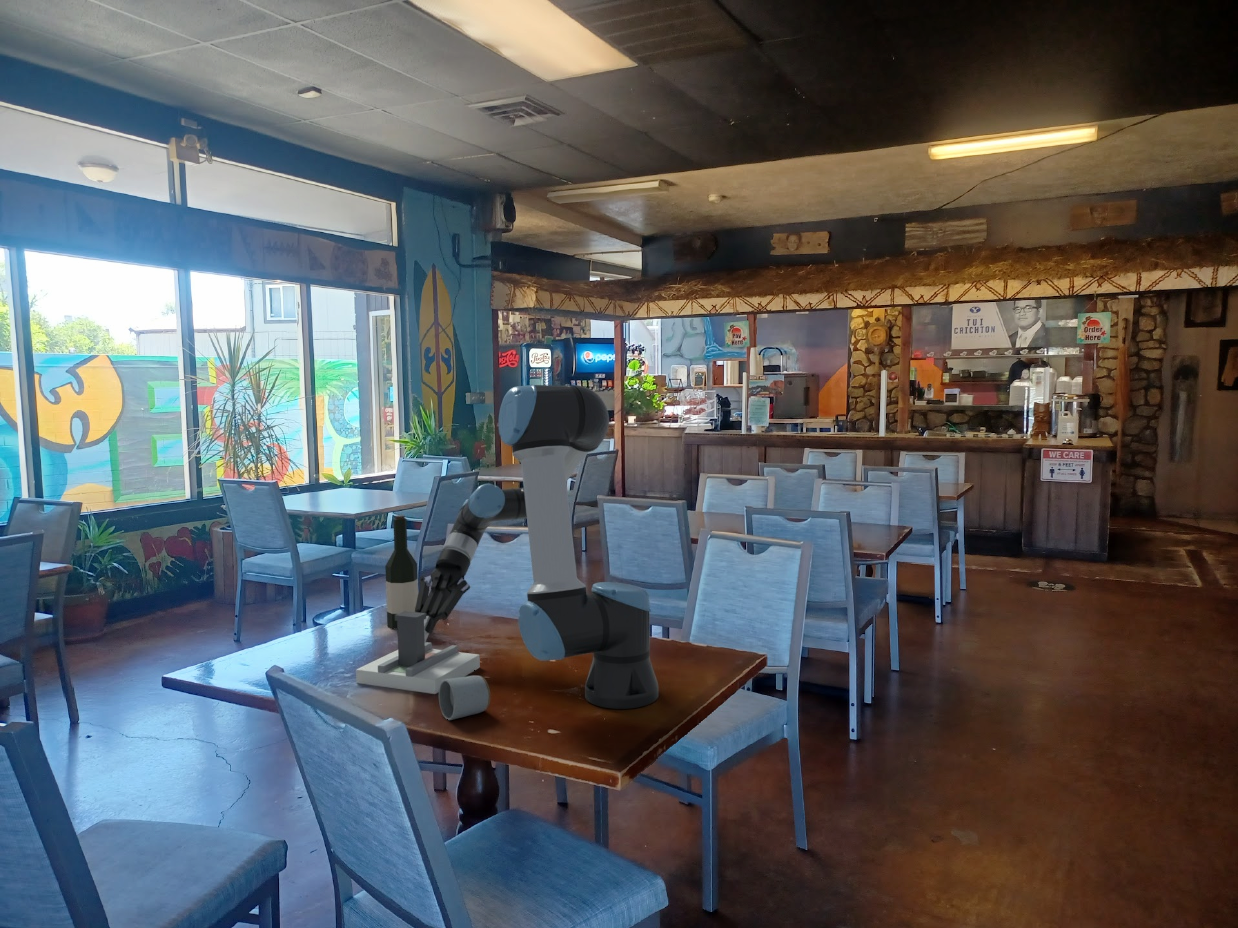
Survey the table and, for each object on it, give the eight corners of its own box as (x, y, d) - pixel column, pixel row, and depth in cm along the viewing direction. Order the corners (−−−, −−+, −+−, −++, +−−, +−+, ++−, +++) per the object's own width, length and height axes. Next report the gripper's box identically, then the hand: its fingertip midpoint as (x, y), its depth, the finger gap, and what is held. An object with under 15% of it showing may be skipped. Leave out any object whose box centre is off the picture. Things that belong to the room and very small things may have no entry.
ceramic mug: (493, 715, 161) (492, 676, 160) (454, 725, 156) (453, 685, 155) (468, 700, 169) (467, 663, 169) (431, 709, 164) (430, 671, 164)
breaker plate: (479, 667, 189) (479, 648, 189) (435, 693, 172) (434, 672, 172) (406, 658, 196) (405, 639, 196) (356, 682, 180) (355, 662, 179)
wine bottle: (386, 622, 228) (383, 514, 225) (417, 619, 230) (414, 512, 228) (387, 630, 220) (384, 518, 217) (420, 627, 222) (416, 517, 220)
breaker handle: (427, 663, 182) (426, 613, 181) (417, 668, 179) (416, 617, 178) (406, 660, 184) (404, 611, 183) (396, 665, 181) (394, 615, 180)
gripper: (486, 566, 198) (449, 655, 184) (439, 563, 203) (400, 649, 189) (473, 548, 193) (435, 638, 179) (426, 545, 198) (385, 633, 184)
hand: (417, 644), depth 184 cm, fingers closed
